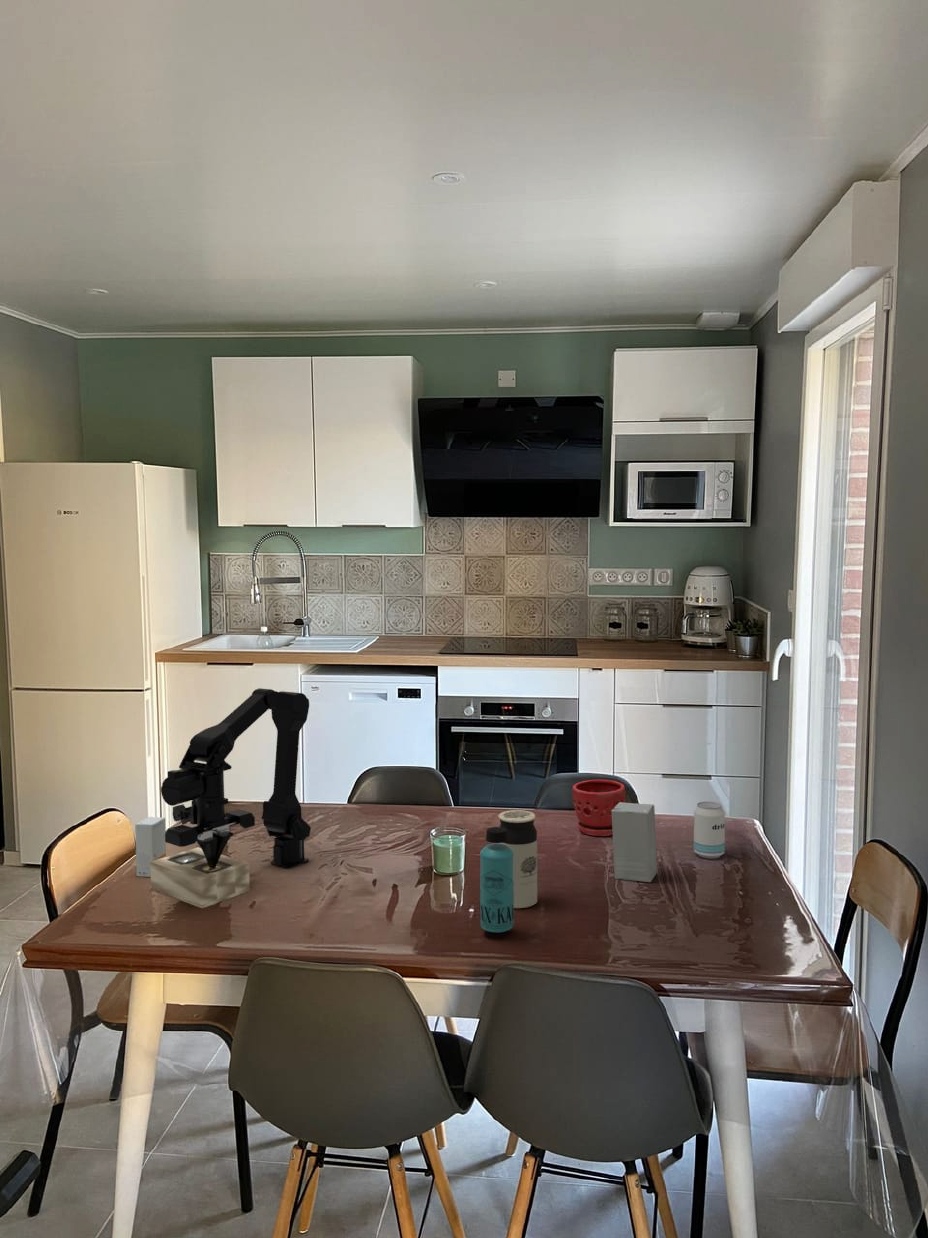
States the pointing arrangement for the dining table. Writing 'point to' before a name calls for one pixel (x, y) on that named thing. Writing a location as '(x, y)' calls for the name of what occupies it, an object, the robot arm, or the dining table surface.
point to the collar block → (199, 878)
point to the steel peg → (186, 859)
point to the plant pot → (597, 805)
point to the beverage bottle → (496, 883)
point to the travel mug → (522, 854)
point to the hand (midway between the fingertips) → (212, 867)
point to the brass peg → (211, 868)
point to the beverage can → (709, 830)
